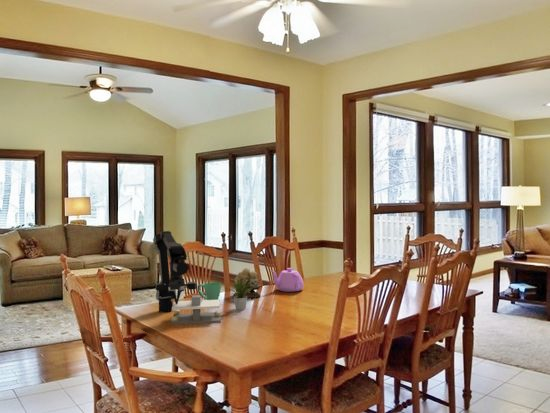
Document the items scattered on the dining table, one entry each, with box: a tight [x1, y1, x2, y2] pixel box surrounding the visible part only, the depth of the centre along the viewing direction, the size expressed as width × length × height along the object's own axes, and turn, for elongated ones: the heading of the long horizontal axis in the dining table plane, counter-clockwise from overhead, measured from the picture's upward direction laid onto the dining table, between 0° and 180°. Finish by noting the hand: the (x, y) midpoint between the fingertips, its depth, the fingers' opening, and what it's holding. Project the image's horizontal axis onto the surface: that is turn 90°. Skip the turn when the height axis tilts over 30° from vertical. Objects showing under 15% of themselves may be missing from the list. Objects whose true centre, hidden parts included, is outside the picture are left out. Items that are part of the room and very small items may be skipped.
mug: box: [197, 282, 222, 300], centre depth 269 cm, size 15×10×10 cm
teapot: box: [271, 267, 304, 293], centre depth 297 cm, size 22×22×14 cm
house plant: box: [229, 278, 254, 311], centre depth 250 cm, size 14×14×16 cm
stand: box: [170, 309, 222, 325], centre depth 231 cm, size 23×16×6 cm
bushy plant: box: [233, 267, 262, 300], centre depth 281 cm, size 18×12×17 cm, turn 64°
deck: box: [172, 294, 220, 311], centre depth 231 cm, size 22×14×5 cm, turn 96°
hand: (176, 303), depth 230 cm, fingers closed
